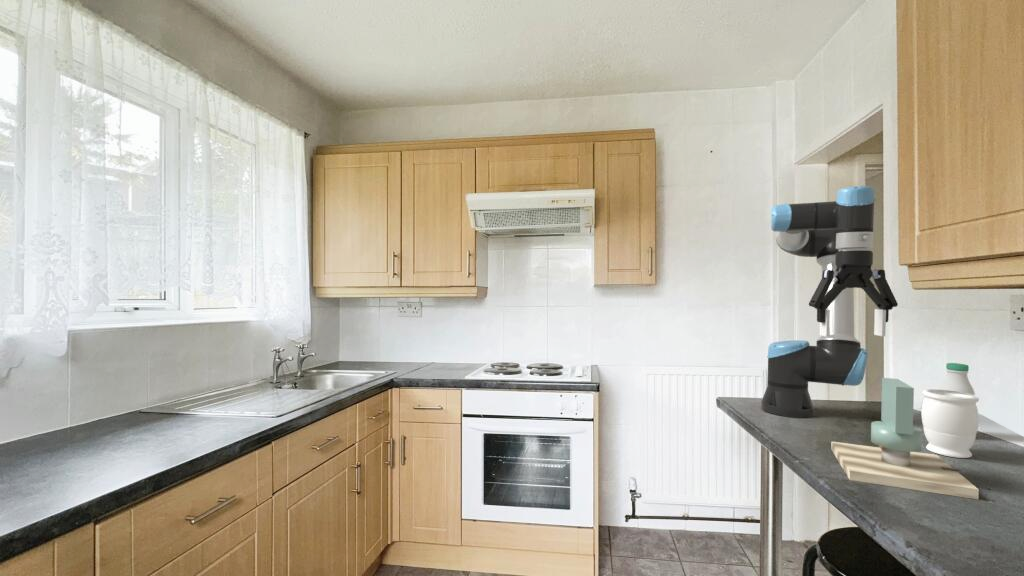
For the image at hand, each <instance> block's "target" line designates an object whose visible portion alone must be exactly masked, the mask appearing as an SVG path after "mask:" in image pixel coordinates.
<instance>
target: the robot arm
mask: <svg viewBox="0 0 1024 576" xmlns="http://www.w3.org/2000/svg"><path fill="white" fill-rule="evenodd" d="M836 194H837V195H836V200H835V201H834V200H833V201H820V202H807V203H805V202H803V203H802V202H801V203H783V204H775V205H774V206H772V207H771V215H770V218H771V219H770V221H771V222H770V224H771V226H770V227H771V230H772V231H773V232H776V234H775V241H776V245H777V246H778V247H779V248H780V249H781V250H782V251H783V252H786V253H787V254H791V255H793V256H797V257H804V258H809V257H810V258H816V263H817V264H818V265H819V266H821V279H820V281H819V284H818V285H817V287H816V289H815V291H814V293H813V294H812V296H811V298H810V301H809V302H808V306H809V307H812V308H814V309H816V321H817V323H819V336H820V337H819V338H818V339H817V340H816V345H810V343H809V341H807V340H782V341H776V342H775V341H774V342H771V343H770V344H769V346H768V347H767V348H768V349H767V356H766V358H767V382H766V383H767V386H766V388H765V392H764V393H763V396H762V399H761V403H760V409H761V410H762V411H764V412H766V413H770V414H773V415H777V416H781V417H790V418H811V417H814V416H815V407H814V403H813V401H812V398H811V395H810V392H809V383H818V384H827V385H828V384H831V385H839V386H852V387H856V386H859V385H861V384H862V382H863V380H864V377H865V374H866V368H867V367H866V366H867V361H868V351H867V349H865V348H861V341H859V340H858V339H857V338H856V337H855V301H854V299H855V298H854V297H855V294H854V293H855V292H854V288H855V289H861V290H863V291H864V292H865V294H866V295H867V296H868V298H870V300H871V301H872V302H873V303H874V304H875V306H876V307H877V308H874V320H873V321H874V327H873V328H874V329H873V335H874V336H879V337H886V329H887V328H886V327H887V325H886V324H887V323H888V322H889V313H890V312H889V311H891V310H892V309H894V308H895V307H898V305H899V304H898V301H897V300H896V297H895V295H894V292H893V291H892V289H891V286H890V285H889V283H888V280H887V279H886V278H887V277H886V270H885V269H873V270H872V266H873V263H874V252H873V251H872V250H871V249H873V248H874V219H875V217H874V216H875V215H874V214H875V202H876V198H875V190H874V187H872V186H868V185H858V186H857V185H856V186H849V187H843V188H840V189H838V191H837V193H836ZM871 279H873V281H874V283H875V284H874V283H873V282H872V281H871ZM875 285H876V287H875Z"/></svg>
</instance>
